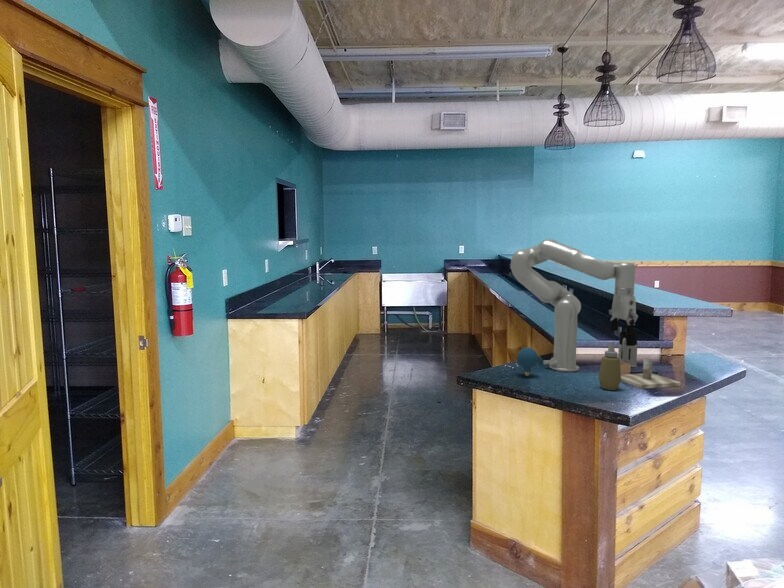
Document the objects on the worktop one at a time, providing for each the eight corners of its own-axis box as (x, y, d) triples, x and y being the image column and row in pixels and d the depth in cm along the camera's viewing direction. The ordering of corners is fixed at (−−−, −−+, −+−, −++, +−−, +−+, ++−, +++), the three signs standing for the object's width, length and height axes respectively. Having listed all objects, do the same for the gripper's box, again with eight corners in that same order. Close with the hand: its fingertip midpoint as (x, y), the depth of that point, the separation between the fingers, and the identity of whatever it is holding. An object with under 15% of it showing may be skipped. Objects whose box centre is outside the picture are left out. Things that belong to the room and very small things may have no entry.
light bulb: (539, 375, 230) (540, 346, 229) (535, 379, 223) (536, 350, 222) (519, 372, 234) (520, 345, 233) (514, 377, 226) (515, 348, 225)
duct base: (641, 388, 211) (642, 364, 210) (614, 378, 226) (615, 355, 225) (680, 386, 215) (681, 362, 214) (651, 376, 231) (652, 354, 230)
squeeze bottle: (618, 392, 205) (621, 345, 203) (596, 389, 209) (598, 342, 208) (622, 387, 212) (624, 341, 210) (600, 384, 216) (602, 339, 215)
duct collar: (617, 376, 229) (618, 365, 228) (608, 373, 235) (609, 362, 234) (630, 376, 230) (630, 364, 230) (620, 372, 236) (621, 361, 236)
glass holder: (639, 365, 252) (641, 333, 250) (632, 371, 240) (634, 337, 239) (619, 362, 257) (620, 330, 255) (611, 368, 245) (613, 335, 244)
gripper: (646, 294, 222) (643, 335, 223) (618, 290, 238) (616, 329, 240) (630, 294, 220) (627, 336, 222) (603, 290, 236) (601, 329, 238)
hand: (621, 332), depth 231 cm, fingers open, 9 cm apart
